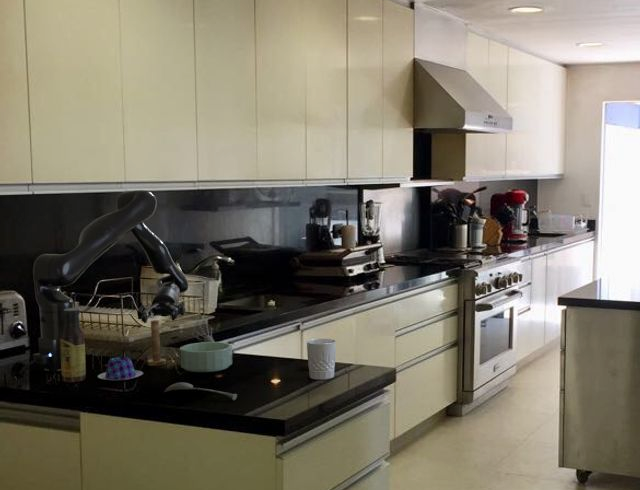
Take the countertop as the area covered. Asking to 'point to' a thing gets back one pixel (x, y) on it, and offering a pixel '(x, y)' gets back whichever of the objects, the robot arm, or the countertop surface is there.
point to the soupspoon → (190, 387)
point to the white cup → (321, 358)
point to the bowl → (206, 356)
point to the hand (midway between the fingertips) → (158, 318)
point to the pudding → (120, 370)
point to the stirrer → (156, 345)
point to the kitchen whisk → (206, 338)
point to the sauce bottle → (72, 348)
